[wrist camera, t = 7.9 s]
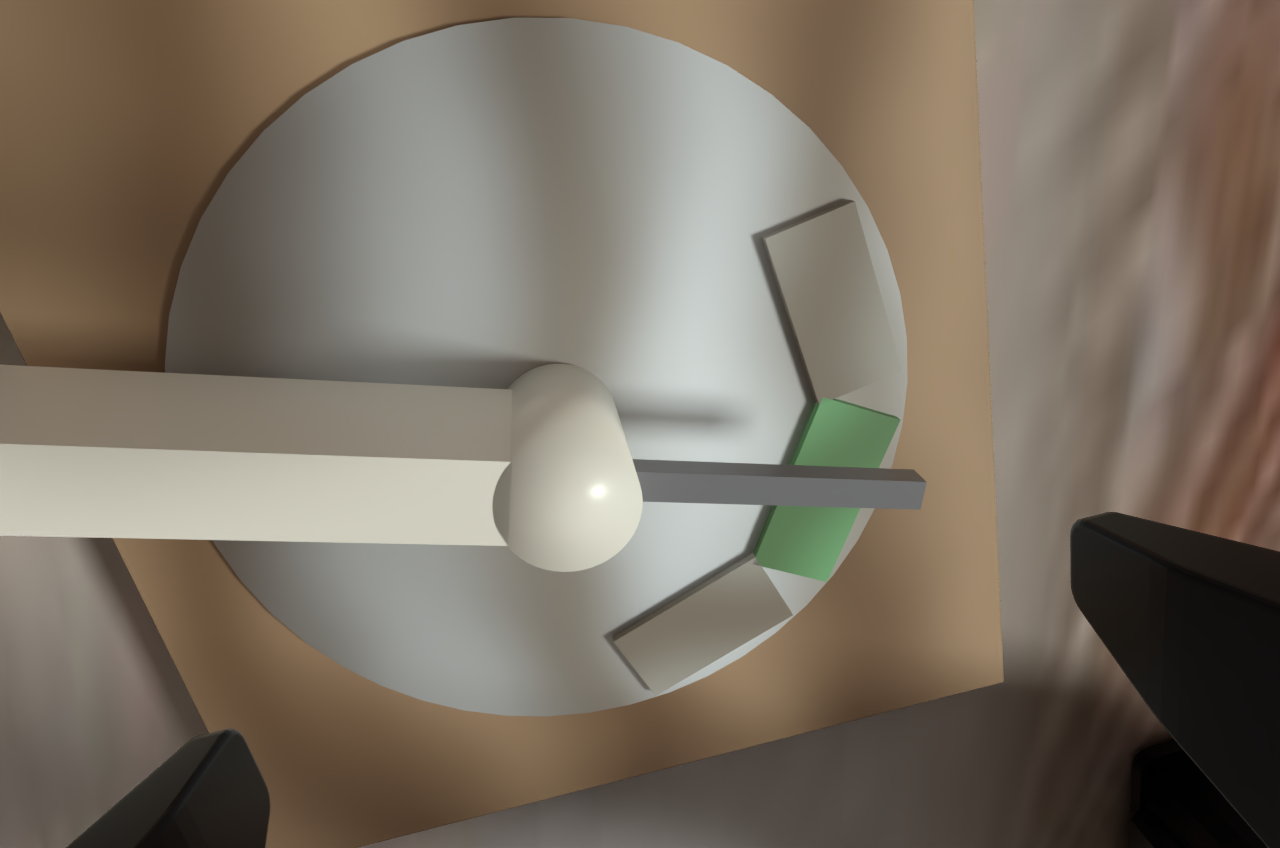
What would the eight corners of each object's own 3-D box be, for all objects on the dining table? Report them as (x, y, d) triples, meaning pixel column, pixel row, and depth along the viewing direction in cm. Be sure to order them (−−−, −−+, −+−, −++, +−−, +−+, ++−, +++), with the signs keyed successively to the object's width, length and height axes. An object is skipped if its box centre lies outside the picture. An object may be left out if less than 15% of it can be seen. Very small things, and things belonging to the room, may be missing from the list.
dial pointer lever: (872, 380, 20) (960, 452, 16) (851, 485, 20) (929, 577, 17) (-9, 332, 17) (-168, 406, 13) (12, 456, 18) (-131, 560, 14)
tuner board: (926, -211, 17) (974, -246, 15) (976, 648, 25) (1012, 692, 23) (-102, -3, 16) (-180, -15, 14) (290, 823, 24) (271, 882, 22)
